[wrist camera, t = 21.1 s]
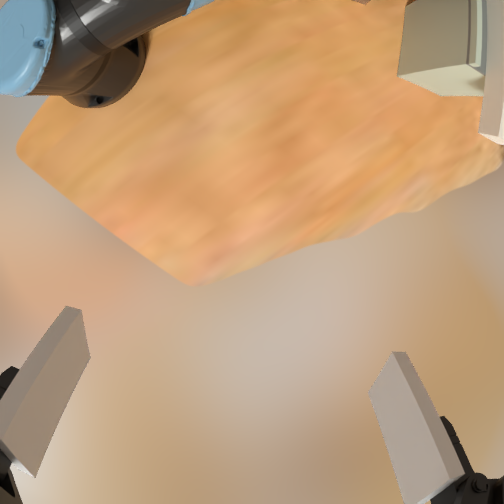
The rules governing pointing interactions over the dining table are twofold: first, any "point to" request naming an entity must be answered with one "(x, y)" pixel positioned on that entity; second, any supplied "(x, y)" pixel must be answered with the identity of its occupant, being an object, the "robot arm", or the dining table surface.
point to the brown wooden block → (362, 1)
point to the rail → (494, 75)
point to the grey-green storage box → (445, 46)
